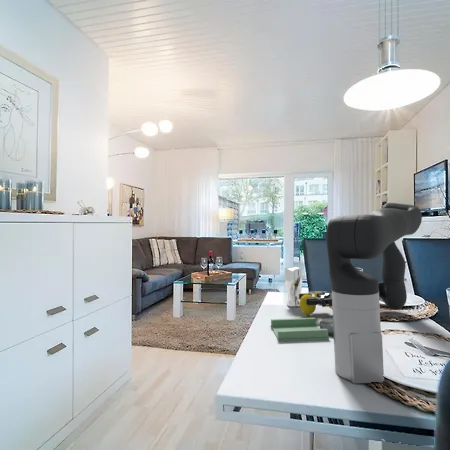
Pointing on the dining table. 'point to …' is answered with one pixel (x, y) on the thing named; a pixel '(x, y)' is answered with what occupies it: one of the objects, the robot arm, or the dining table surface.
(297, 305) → the beer glass
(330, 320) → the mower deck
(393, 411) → the dining table surface
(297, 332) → the side chute
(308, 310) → the lemon
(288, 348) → the dining table surface
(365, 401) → the dining table surface
